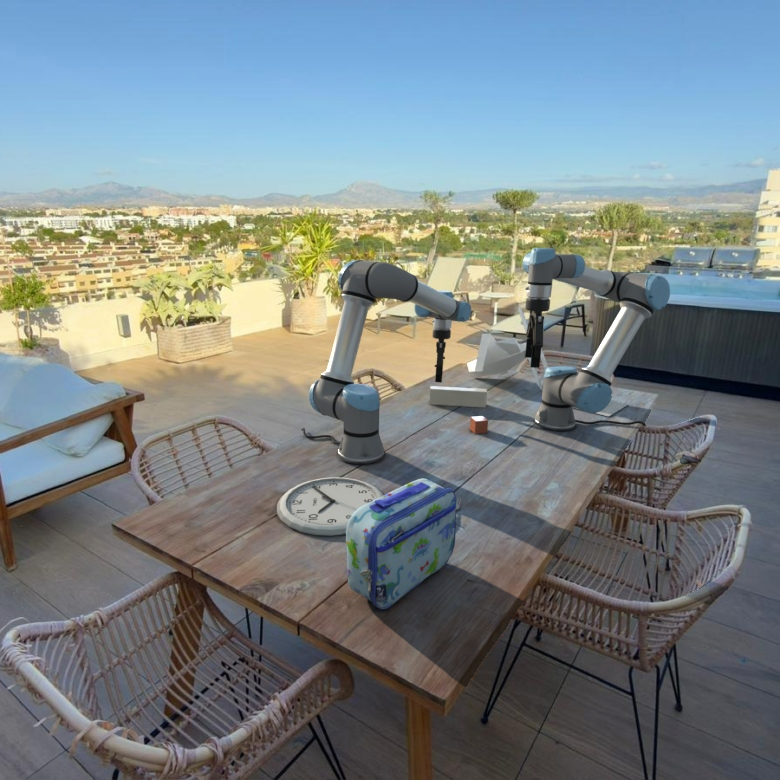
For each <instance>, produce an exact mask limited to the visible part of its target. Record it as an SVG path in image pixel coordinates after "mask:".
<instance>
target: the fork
mask: <svg viewBox="0 0 780 780" xmlns="http://www.w3.org/2000/svg"><path fill="white" fill-rule="evenodd" d="M461 501H462V497H460V499H459V495H458V496H457V499H456V511H457V510H459V509H460V506H461Z"/></svg>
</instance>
